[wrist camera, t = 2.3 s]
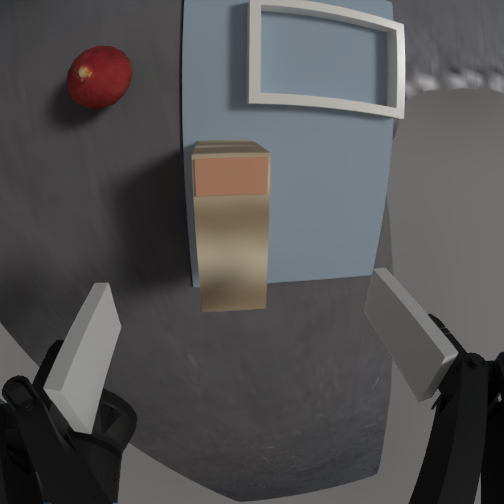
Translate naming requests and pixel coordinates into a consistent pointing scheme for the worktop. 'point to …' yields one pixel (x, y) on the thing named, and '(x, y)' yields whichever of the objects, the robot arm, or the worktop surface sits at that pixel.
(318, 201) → the mat
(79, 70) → the onion
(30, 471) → the robot arm
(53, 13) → the worktop surface
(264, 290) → the block
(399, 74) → the frame
